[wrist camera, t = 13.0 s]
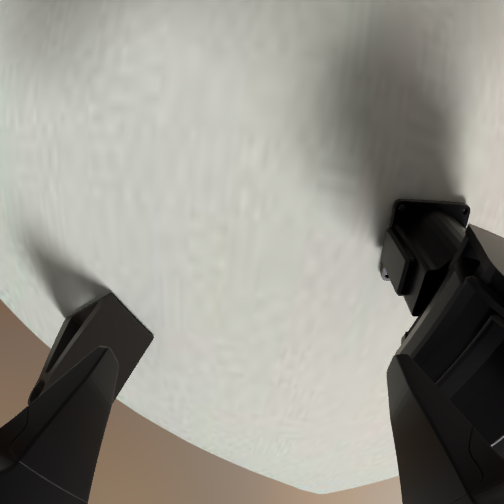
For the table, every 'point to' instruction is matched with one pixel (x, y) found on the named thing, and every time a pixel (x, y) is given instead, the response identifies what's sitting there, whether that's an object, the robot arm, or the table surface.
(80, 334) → the phone stand
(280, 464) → the table surface
